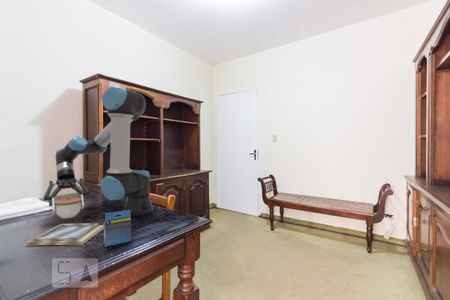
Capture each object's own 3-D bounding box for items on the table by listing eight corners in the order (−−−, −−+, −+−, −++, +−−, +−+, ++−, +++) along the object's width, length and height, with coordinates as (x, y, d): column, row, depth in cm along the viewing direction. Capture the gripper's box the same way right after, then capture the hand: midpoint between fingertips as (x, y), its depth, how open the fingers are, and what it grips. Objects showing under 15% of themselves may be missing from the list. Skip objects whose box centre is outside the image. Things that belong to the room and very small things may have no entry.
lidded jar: (72, 220, 104) (71, 199, 104) (48, 220, 104) (48, 199, 104) (86, 213, 115) (86, 194, 115) (65, 213, 115) (64, 194, 115)
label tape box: (128, 238, 91) (128, 207, 90) (131, 241, 87) (130, 209, 87) (103, 243, 85) (103, 211, 85) (105, 247, 82) (105, 213, 82)
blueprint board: (104, 228, 101) (104, 222, 101) (82, 245, 84) (82, 238, 84) (57, 229, 100) (57, 223, 100) (25, 246, 83) (25, 239, 83)
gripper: (90, 175, 128) (96, 209, 116) (37, 179, 114) (37, 218, 102) (91, 166, 124) (97, 200, 112) (36, 170, 110) (36, 209, 98)
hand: (68, 209), depth 107 cm, fingers closed on lidded jar, 11 cm apart
